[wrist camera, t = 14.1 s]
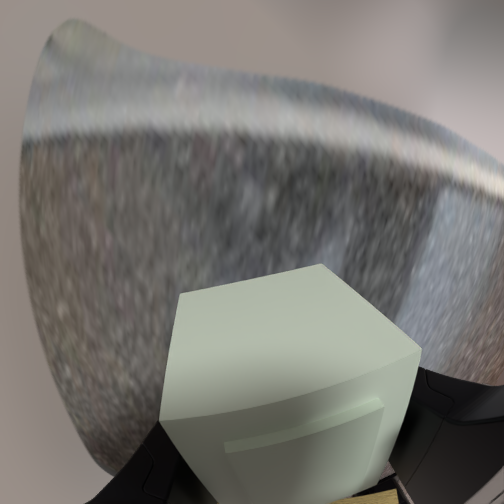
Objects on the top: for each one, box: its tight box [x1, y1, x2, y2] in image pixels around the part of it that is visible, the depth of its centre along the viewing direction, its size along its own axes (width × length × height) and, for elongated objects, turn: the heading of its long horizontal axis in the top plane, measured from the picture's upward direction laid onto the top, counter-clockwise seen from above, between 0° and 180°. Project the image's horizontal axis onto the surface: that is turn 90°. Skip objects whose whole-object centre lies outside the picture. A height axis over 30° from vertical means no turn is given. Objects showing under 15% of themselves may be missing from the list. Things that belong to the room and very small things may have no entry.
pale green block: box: [159, 264, 422, 504], centre depth 7 cm, size 6×4×5 cm
